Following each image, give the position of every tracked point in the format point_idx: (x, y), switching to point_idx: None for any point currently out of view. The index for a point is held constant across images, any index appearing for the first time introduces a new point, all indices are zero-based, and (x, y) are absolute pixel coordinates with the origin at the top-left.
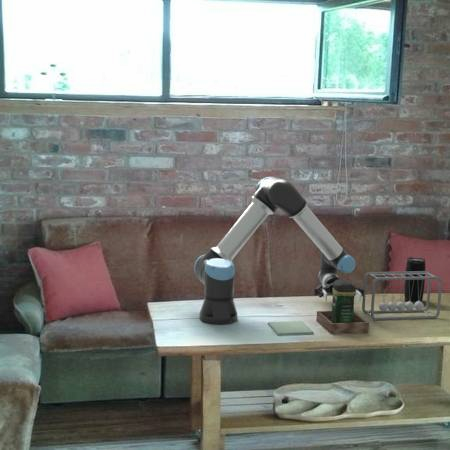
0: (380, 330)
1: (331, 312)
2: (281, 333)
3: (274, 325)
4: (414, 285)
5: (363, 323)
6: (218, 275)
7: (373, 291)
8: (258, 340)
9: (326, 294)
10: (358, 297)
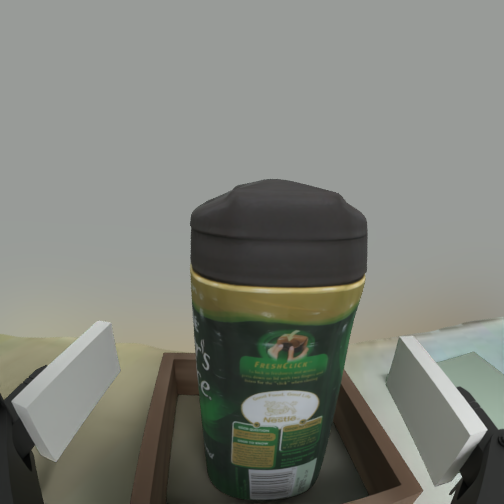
0: (103, 396)
1: None
2: (467, 354)
3: None
4: None
5: (189, 355)
6: None
7: None
8: (486, 332)
9: (403, 341)
10: (103, 370)
